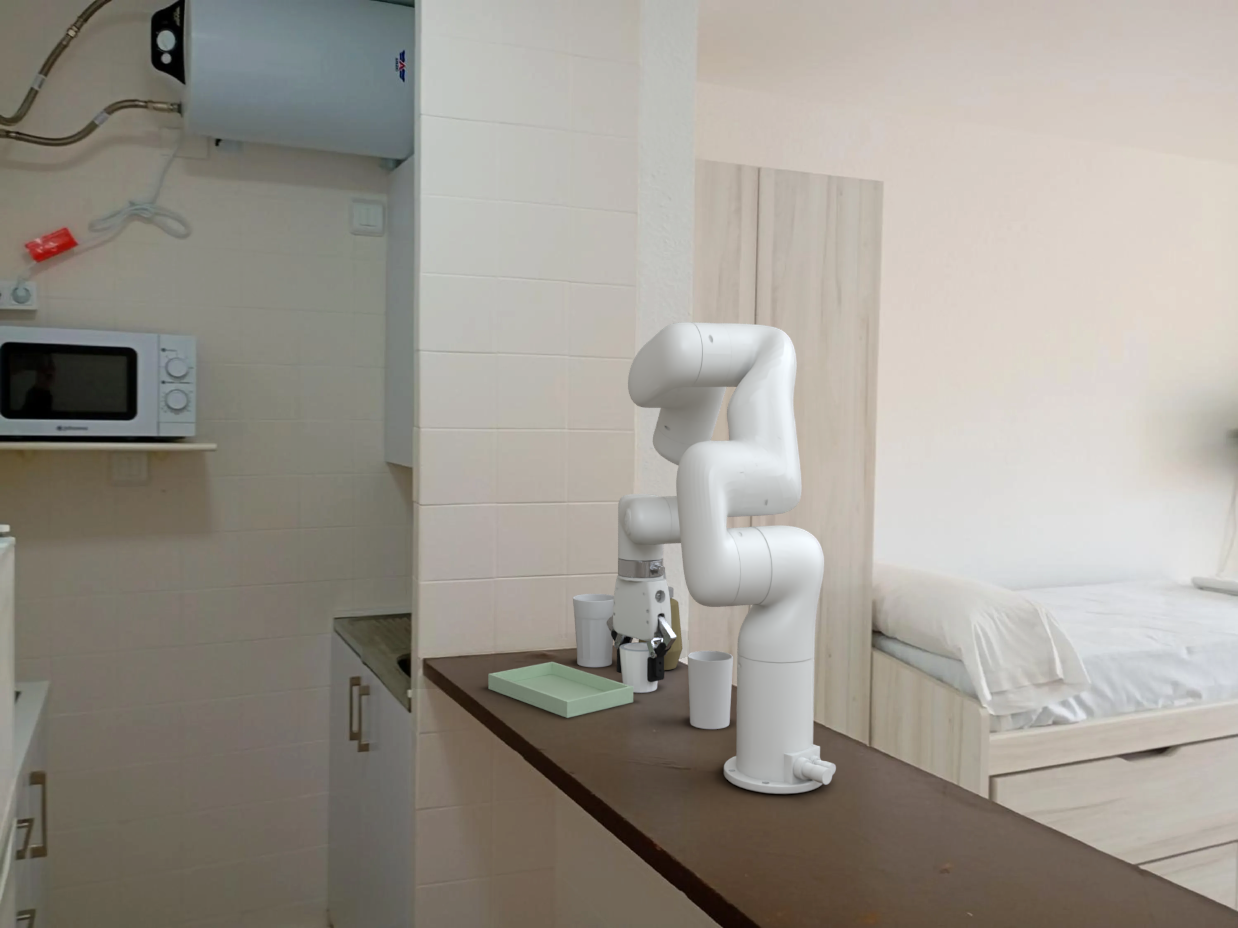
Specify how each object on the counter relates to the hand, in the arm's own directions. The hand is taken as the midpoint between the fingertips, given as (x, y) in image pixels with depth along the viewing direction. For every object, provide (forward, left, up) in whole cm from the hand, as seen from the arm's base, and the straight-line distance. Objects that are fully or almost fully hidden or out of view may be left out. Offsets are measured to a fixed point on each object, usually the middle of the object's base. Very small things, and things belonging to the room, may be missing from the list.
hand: (640, 674), depth 171 cm
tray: (+5, +13, -2) cm, 14 cm away
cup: (+18, -5, -2) cm, 19 cm away
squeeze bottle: (+8, -12, -2) cm, 15 cm away
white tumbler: (-21, +5, -2) cm, 22 cm away
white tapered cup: (0, 0, -2) cm, 2 cm away
